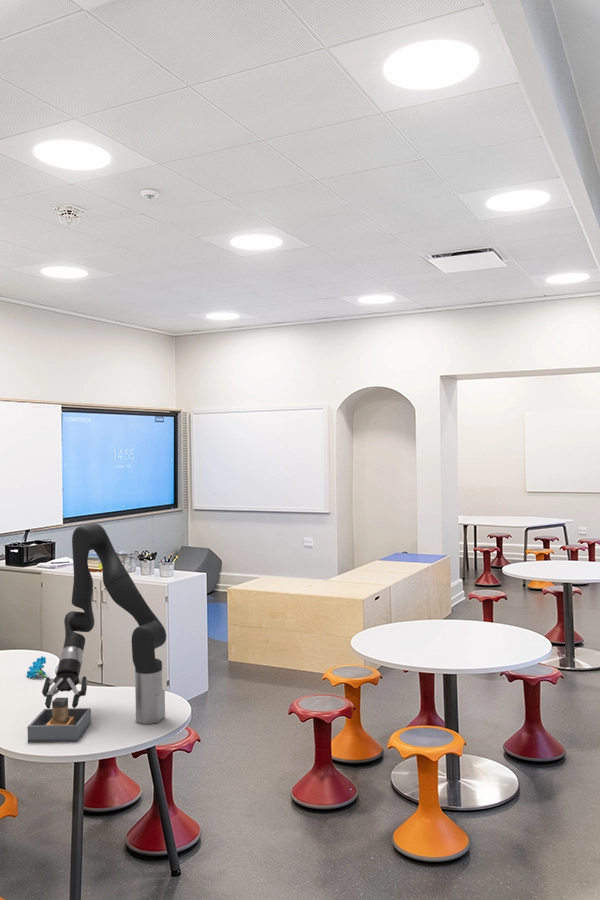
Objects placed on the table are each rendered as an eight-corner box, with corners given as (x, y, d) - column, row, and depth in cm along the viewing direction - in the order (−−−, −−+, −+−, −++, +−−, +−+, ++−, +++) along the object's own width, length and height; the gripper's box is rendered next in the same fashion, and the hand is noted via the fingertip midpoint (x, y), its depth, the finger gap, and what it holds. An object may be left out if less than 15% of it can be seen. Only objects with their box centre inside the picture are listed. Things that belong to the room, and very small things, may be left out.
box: (91, 722, 254) (90, 708, 254) (77, 741, 238) (77, 725, 238) (44, 723, 254) (44, 708, 254) (27, 742, 238) (27, 726, 238)
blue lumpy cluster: (23, 670, 309) (41, 651, 312) (33, 678, 312) (51, 659, 314) (28, 681, 300) (46, 661, 302) (38, 689, 302) (57, 670, 305)
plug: (68, 727, 248) (68, 697, 248) (64, 731, 244) (64, 701, 244) (56, 727, 248) (56, 697, 248) (52, 732, 244) (52, 701, 244)
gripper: (47, 657, 255) (36, 702, 244) (88, 657, 255) (79, 701, 244) (52, 668, 260) (42, 712, 249) (93, 667, 261) (84, 711, 249)
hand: (60, 707), depth 247 cm, fingers open, 8 cm apart
